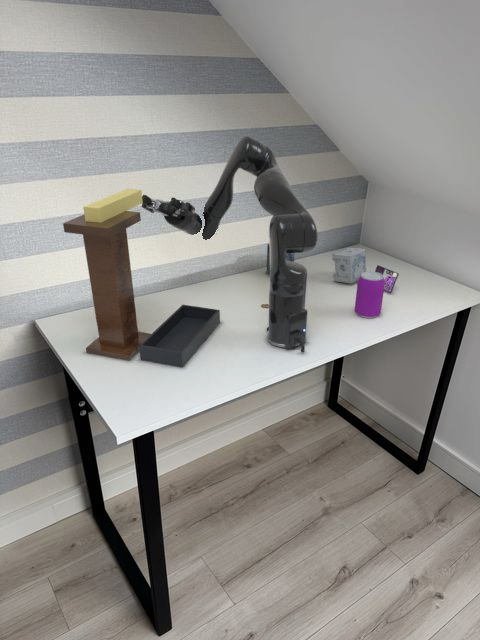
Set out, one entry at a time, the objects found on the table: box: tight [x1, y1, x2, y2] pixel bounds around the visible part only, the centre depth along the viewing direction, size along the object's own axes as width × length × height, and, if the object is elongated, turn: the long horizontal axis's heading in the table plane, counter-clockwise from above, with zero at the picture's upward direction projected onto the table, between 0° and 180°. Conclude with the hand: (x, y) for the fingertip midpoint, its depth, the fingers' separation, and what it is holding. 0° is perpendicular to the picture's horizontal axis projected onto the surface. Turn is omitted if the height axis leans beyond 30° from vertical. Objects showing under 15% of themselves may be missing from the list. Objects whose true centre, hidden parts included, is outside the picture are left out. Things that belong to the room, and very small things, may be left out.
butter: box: [83, 188, 143, 223], centre depth 119 cm, size 19×4×3 cm, turn 163°
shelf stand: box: [62, 210, 152, 362], centre depth 123 cm, size 14×12×33 cm
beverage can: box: [354, 270, 386, 319], centre depth 148 cm, size 8×8×12 cm
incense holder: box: [332, 247, 367, 284], centre depth 171 cm, size 10×8×10 cm
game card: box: [374, 264, 399, 294], centre depth 167 cm, size 7×5×9 cm
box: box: [266, 243, 295, 276], centre depth 175 cm, size 8×6×11 cm
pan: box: [139, 304, 221, 368], centre depth 134 cm, size 25×11×4 cm, turn 163°
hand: (157, 199), depth 138 cm, fingers open, 8 cm apart
